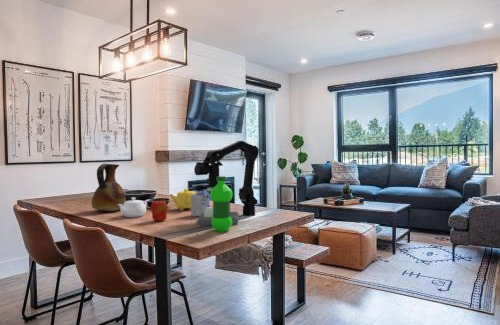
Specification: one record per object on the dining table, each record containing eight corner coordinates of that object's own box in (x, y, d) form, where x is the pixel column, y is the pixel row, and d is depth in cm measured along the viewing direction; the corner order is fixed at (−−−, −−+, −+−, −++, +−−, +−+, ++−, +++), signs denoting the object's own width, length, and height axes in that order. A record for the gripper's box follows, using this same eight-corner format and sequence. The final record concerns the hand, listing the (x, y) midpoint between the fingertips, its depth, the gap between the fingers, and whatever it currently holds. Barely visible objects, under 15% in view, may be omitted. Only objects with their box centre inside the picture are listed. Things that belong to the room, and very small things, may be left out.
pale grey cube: (212, 217, 181) (212, 209, 181) (211, 219, 178) (211, 211, 178) (204, 217, 181) (204, 210, 181) (204, 219, 178) (203, 211, 178)
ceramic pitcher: (131, 208, 230) (130, 162, 229) (114, 214, 210) (113, 164, 209) (104, 208, 233) (103, 162, 232) (85, 213, 214) (83, 164, 213)
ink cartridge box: (210, 214, 204) (209, 189, 203) (207, 216, 198) (206, 191, 198) (194, 214, 206) (193, 189, 205) (190, 216, 200) (190, 190, 200)
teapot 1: (138, 212, 216) (137, 194, 215) (155, 213, 210) (155, 195, 209) (109, 218, 196) (108, 199, 196) (127, 220, 190) (126, 200, 190)
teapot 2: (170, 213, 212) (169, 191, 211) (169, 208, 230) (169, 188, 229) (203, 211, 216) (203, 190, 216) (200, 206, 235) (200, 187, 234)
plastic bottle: (237, 230, 163) (236, 176, 162) (217, 234, 157) (216, 178, 156) (225, 226, 171) (225, 175, 170) (206, 229, 165) (205, 176, 164)
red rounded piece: (151, 223, 183) (150, 200, 182) (151, 220, 191) (150, 198, 190) (168, 221, 185) (167, 199, 185) (167, 218, 193) (166, 197, 193)
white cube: (214, 214, 190) (214, 207, 190) (213, 215, 187) (213, 208, 187) (206, 214, 190) (206, 207, 190) (206, 215, 187) (205, 208, 187)
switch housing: (238, 218, 192) (238, 211, 192) (237, 224, 176) (237, 217, 176) (201, 218, 192) (201, 212, 192) (197, 225, 176) (197, 217, 176)
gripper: (232, 173, 196) (232, 201, 196) (198, 173, 196) (199, 201, 196) (231, 174, 185) (231, 204, 185) (195, 175, 185) (196, 204, 185)
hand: (214, 203), depth 188 cm, fingers closed
